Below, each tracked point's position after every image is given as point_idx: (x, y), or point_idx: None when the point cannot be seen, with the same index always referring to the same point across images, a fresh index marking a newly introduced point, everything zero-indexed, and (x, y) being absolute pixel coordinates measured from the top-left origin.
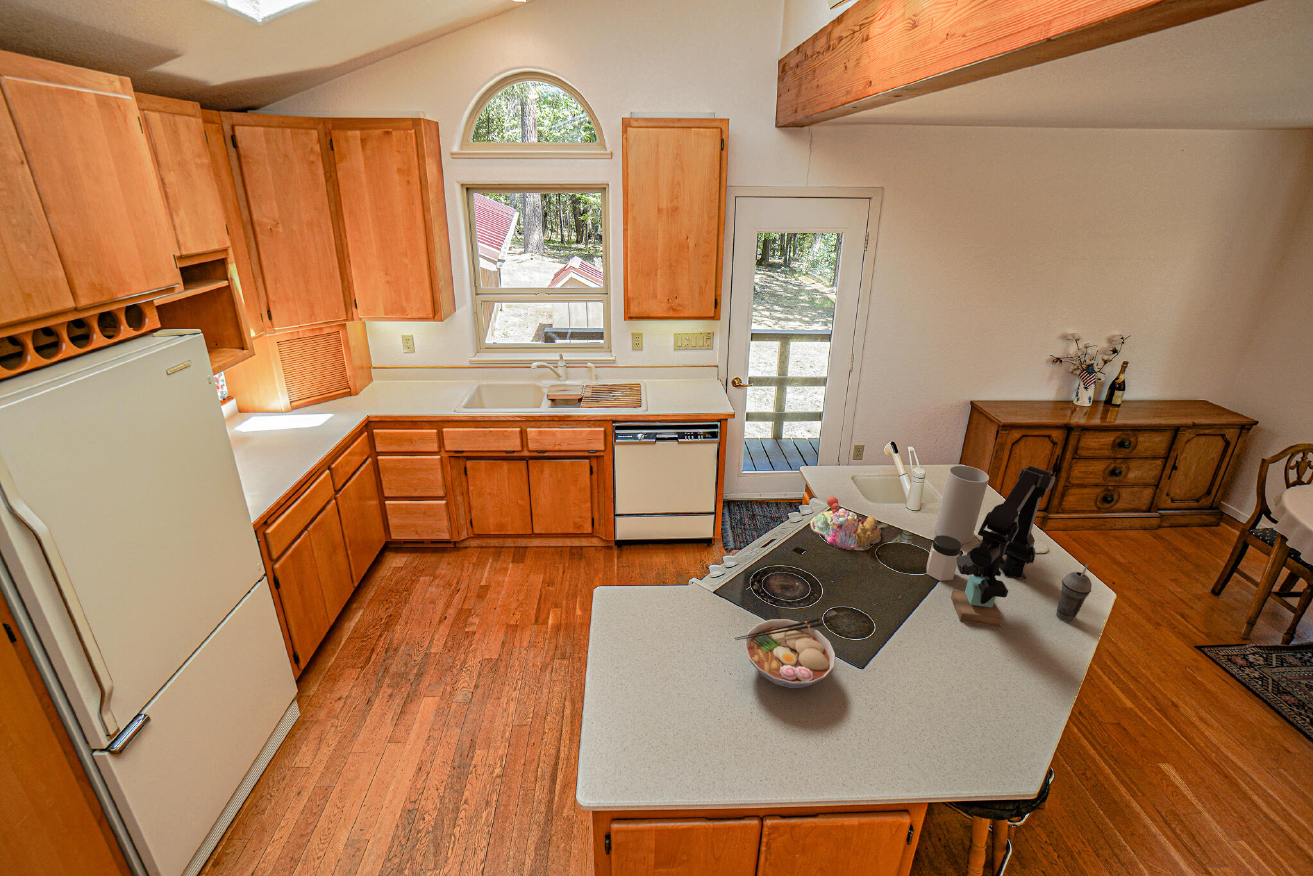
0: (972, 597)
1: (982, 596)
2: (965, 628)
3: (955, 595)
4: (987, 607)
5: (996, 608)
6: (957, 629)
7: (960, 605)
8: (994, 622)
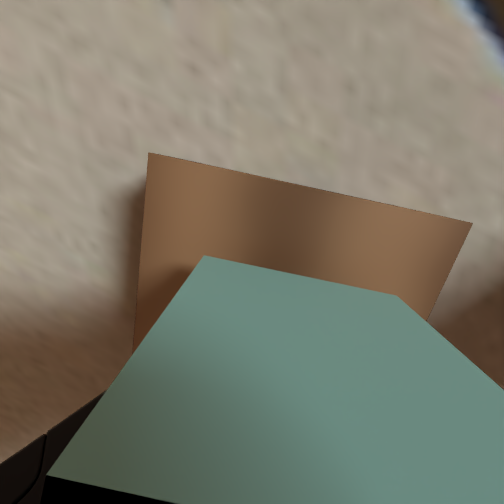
0: (177, 293)
1: (44, 435)
2: (112, 162)
3: (391, 208)
4: None
5: None
6: (91, 97)
7: (251, 185)
8: None
